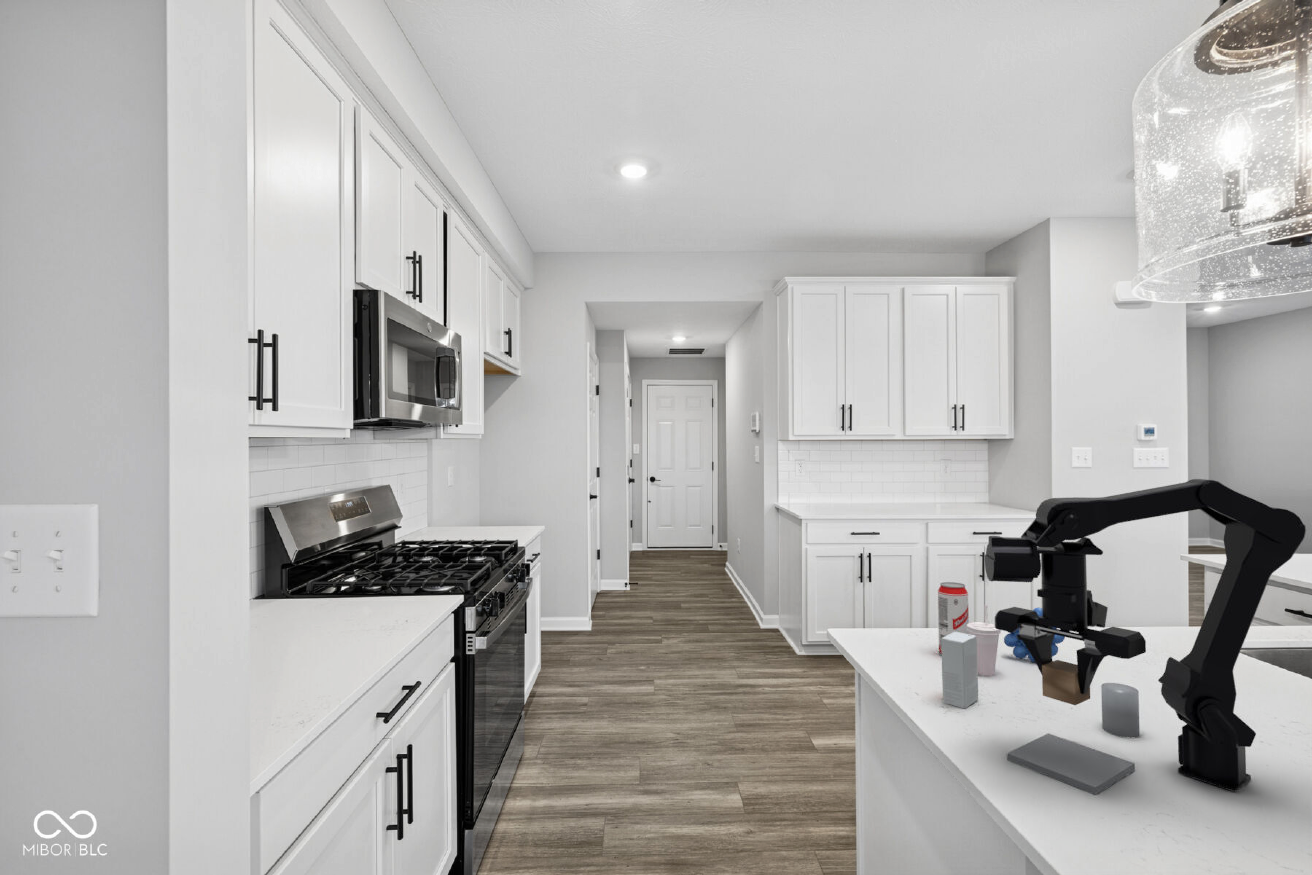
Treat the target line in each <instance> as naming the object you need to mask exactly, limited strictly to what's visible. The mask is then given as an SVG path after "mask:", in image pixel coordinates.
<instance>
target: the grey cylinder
mask: <svg viewBox="0 0 1312 875" xmlns="http://www.w3.org/2000/svg"><path fill="white" fill-rule="evenodd" d="M1100 690H1101V692H1100V693H1101V723H1102V727H1101V728H1102V729H1104V730H1103V731H1104V732H1106V733H1108V734H1110V735H1113V736H1118V737H1120V738H1126V737H1130V738H1129V739H1132V738H1131V737H1135V738H1138V737H1140V734H1141V733H1140V704H1139V703H1140V702H1139V701H1140V700H1139V699H1140V693H1139V690H1138V689H1137V688H1135V687H1133V686H1130V685H1128V684H1124V683H1123V684H1122V683H1116V682H1105V683H1101V689H1100Z"/></svg>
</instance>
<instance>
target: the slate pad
mask: <svg viewBox="0 0 1312 875" xmlns="http://www.w3.org/2000/svg"><path fill="white" fill-rule="evenodd" d="M1006 759H1007V761H1009V762H1012V763H1015V764H1017V765H1019V766H1022V767H1024V768H1027V769H1029V770H1031V771H1034V772H1037V773H1039V774H1043V775H1045V776H1047V777H1048V778H1049V777H1050V778H1052V779H1055V780H1057V781H1059V782H1063V783H1065V784H1067V785H1069V786H1072V787H1074V788H1076V789H1080V790H1082V791H1084V792H1087V793H1090V794H1092V795H1095V796H1096V795H1098V794H1099V793H1101V792H1103V791H1104V790H1106V789H1107V788H1109V787H1111V786H1112V785H1113V784H1116V783H1117V782H1119V781H1120V780H1122V779H1124V778H1125V777H1127V776H1128V775H1129V773H1130V774H1131V773H1132V772H1135V771H1136V763H1135V762H1132V761H1129V760H1126V759H1124V758H1122V757H1117V756H1115V755H1112V754H1109V753H1106V752H1103V751H1100V750H1098V749H1095V748H1092V747H1089V746H1086V745H1083V744H1080V743H1077V742H1074V741H1072V740H1069V739H1066V738H1063V737H1060V736H1057V735H1054V734H1051V733H1049V732H1048V733H1046V734H1044V735H1041V736H1039V737H1037V738H1035V739H1033V740H1031V741H1029V742H1027V743H1025V744H1023V745H1021V746H1019V747H1017V748H1014V749H1011V751H1009V752H1006Z"/></svg>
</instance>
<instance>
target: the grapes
mask: <svg viewBox="0 0 1312 875" xmlns="http://www.w3.org/2000/svg"><path fill="white" fill-rule="evenodd" d="M1032 610H1033V611H1036V613H1037V614H1038V616H1039V617H1040V616H1042V607H1035V608H1033V609H1032ZM1052 628H1054V627H1052ZM1055 629H1058V628H1055ZM1006 632H1007V634H1006V635H1005V636H1004V637H1003V643H1004V644H1005V645H1006V646H1007V647H1009V648H1012V649H1013V650H1012V654H1013V656H1014V658H1016V659H1020V660H1022V659H1024V658H1028V660H1029V661H1030V662H1033V663H1035V661H1034V659H1033V657H1032V655H1031V654H1030V652H1029V651H1028V649H1027V648H1026V646H1025V644H1024V643H1023V641H1022V640H1019V639H1017V635H1019V629H1017V630H1016V631H1015V632H1008V631H1006ZM1065 638H1066V637H1064V636H1059V635H1055V636H1054V639H1053V642H1052V657H1054V656H1056V655H1057V654H1058V653H1059V646H1058V644H1061V643H1063V642H1064V641H1065Z"/></svg>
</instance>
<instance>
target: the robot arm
mask: <svg viewBox="0 0 1312 875" xmlns="http://www.w3.org/2000/svg"><path fill="white" fill-rule="evenodd" d="M1195 510H1200V511H1201V512H1202V513H1204V514H1206V515H1207V516H1208V517H1209V518H1211V519H1212V520H1214V521H1216V522H1217V523H1219V524H1221V525H1223V526H1224V527H1225V529H1224V535H1223V544H1224V551H1225V556H1226V561H1225V565H1224V568H1223V570H1222V572H1221V575H1220V577H1219V580H1218V582H1217V585H1216V588H1215V590H1214V593H1213V595H1212V598H1211V601H1210V604H1209V605H1208V608H1207V611H1206V614H1205V616H1204V618H1203V621H1202V622H1201V626H1200V628H1199V631H1198V632H1197V636H1196V637H1195V638H1196V639H1195V641H1194V643H1193V646H1192V648H1191V650H1190V652H1189V653H1188V654H1187V655H1186V656H1184V657H1183V658H1182V659H1180V660H1177V659H1176V658H1174V657H1172V656H1169V657H1168V659H1167V661H1166V665H1165V670H1164V672H1163V673H1162V675H1161V676H1160V678H1158V680H1157V681H1158V682H1159V683H1161V688H1160V692H1161V696H1162V698H1163V700H1164V701H1165V703H1166V704H1167V705H1168V706H1169V707H1170V708H1172V709H1173V710H1174V711H1175V714H1176V716H1177V718H1178V719H1179V720H1180V721H1182V722H1184V723H1185V724H1184V725H1183V726H1182V727H1181V734H1179V735H1178V736H1177V746H1178V747H1177V748H1178V750H1177V753H1178V754H1177V755H1178V763H1179V765H1180V766H1179V767H1178V769H1177V773H1179V774H1181V775H1184V776H1187V777H1191V778H1192V779H1196V780H1199V781H1202V782H1205V783H1207V784H1211V785H1213V786H1217V787H1220V788H1222V789H1226V790H1229V791H1232V792H1237V791H1239V790H1240V789H1242V787H1243V786H1245V785H1246V784H1247V783H1248V782H1250V781H1251V780H1252V775H1250V774H1249V773H1247V760H1246V757H1247V754H1246V748H1248V747H1249V748H1251V747H1252V745H1253V742H1254V740H1255V738H1256V736H1257V735H1256V734H1257V733H1256V732H1255V731H1254V730H1253V729H1252V728H1251V727H1250V726H1249V725H1248V724H1247V723H1245V722H1244V721H1243V720H1242V719H1241V718H1240V717H1239V716H1238V715H1237V714H1235V713H1234V711H1235V706H1236V699H1237V689H1236V681H1235V677H1234V668H1235V666H1236V663H1237V660H1238V657H1239V655H1240V653H1241V650H1242V647H1243V646H1244V642H1245V640H1246V638H1247V636H1248V632H1249V630H1250V628H1251V625H1252V622H1253V620H1254V617H1255V616H1256V613H1257V611H1258V607H1259V606H1260V603H1261V600H1262V598H1263V595H1264V592H1265V590H1266V587H1267V585H1268V582H1269V580H1270V577H1271V576H1272V574H1274V573H1275V572H1276V571H1277V570H1279V568H1281V567H1282V566H1283V565H1285V564H1286V563H1287V562H1288V561H1290V560H1291V559H1292V558H1293V556H1294V554H1295V553H1296V552H1297V550H1298V549H1299V547H1300V545H1301V544H1302V543H1303V541H1304V539H1305V536H1306V532H1307V529H1306V528H1307V527H1306V524H1304V523H1303V521H1302V519H1301V517H1299V516H1298V515H1297V514H1296V513H1294V512H1293V511H1291V510H1289V509H1286V508H1285V509H1284V508H1279V507H1278V508H1277V507H1273V506H1270V505H1268V504H1265V503H1263V502H1261V501H1258V500H1256V499H1254V498H1252V497H1250V496H1247V495H1245V494H1242V493H1240V492H1239V491H1235V490H1234V489H1232V488H1229V487H1228V486H1226V485H1225V484H1223V483H1222V482H1220V481H1217V480H1214V479H1206V478H1205V479H1204V478H1203V479H1202V478H1193V479H1189V480H1187V481H1185V482H1180V483H1174V484H1169V485H1163V486H1156V487H1153V488H1147V489H1142V490H1136V491H1135V490H1134V491H1132V492H1125V493H1119V494H1114V495H1113V494H1112V495H1108V496H1102V497H1100V496H1099V497H1054V498H1053V497H1052V498H1047V499H1045V500H1044V501H1042V502H1040V505H1039V506H1038V507H1037V509H1036V512H1035V518H1034V520H1033V521H1032V522H1031V524H1030V525H1029V526H1028V527H1027V528H1026V529H1025V531H1024V532H1023V533H1022V535H1021V536H1020V537H1007V536H1005V537H1004V536H999V535H989V536H988V544H987V546H986V549H985V550H986V551H985V554H984V568H985V574H986V577H987V580H989V582H1007V583H1009V582H1011V583H1012V582H1013V583H1014V582H1015V583H1032V582H1033V580H1034V579H1038V577H1039V576H1040V575H1041V588H1039V589H1037V590H1036V592H1037V593H1036V594H1037V595H1036V596H1037V597H1039V598H1041V608H1042V616H1040V617H1039V616H1038V614H1037V613H1036V611H1033V609H1028V608H1023V607H1018V606H1013V607H1012V606H1011V607H1009V608H1004V609H1000V610H998V611H997V612H996V613H995V616H994V625H995V628H996V629H999V630H1001V631H1004V632H1007V631H1008V632H1007V633H1009V632H1015V631H1016V630H1017V629H1019V635H1017V639H1019V640H1022V641H1023V643H1024V644H1025V646H1026V648H1027V649H1028V651H1029V652H1030V654H1031V655H1032V657H1033V659H1034V661H1035V662H1034V663H1035V664H1036V666H1037V668H1038V670H1039V672H1040V674H1041V675H1042V665H1045V664H1047V663H1050V662H1053V656H1052V642H1053V639H1054V636H1055V635H1059V636H1064V637H1065V638H1069V639H1073V640H1078V641H1083V644H1084V647H1083V648H1080V649H1076V665H1078V680H1079V687H1080V692H1081V694H1086V693H1087V692H1088V690H1089V687H1090V688H1091V685H1092V682H1093V680H1094V677H1095V675H1096V672H1097V670H1098V667H1099V666H1100V664H1101V663H1102V662H1103V659H1104V658H1106V657H1108V656H1110V657H1114V658H1119V659H1123V660H1125V659H1126V660H1128V659H1129V660H1130V659H1132V658H1135V657H1137V656H1140V655H1143V654H1145V653H1147V650H1146V648H1147V647H1146V644H1147V642H1146V639H1145V637H1144V636H1143V634H1142V633H1141V632H1140V631H1138V630H1137V631H1136V630H1132V629H1126V628H1122V627H1118V626H1117V627H1116V626H1111V627H1108V628H1106V623H1107V615H1108V608H1109V607H1108V606H1106V605H1104V604H1101V603H1099V602H1097V601H1094V600H1093V593H1092V590H1090V589H1087V588H1088V582H1087V579H1088V578H1087V556H1102V555H1103V554H1104V551H1103V550H1102V549H1101V548H1099V547H1098V546H1097V545H1095V544H1094V542H1093V541H1092V540H1091V538H1089V536H1091V535H1095V534H1097V533H1100V532H1102V531H1103V530H1106V529H1107V528H1109V527H1111V526H1114V525H1117V524H1121V523H1122V524H1123V523H1127V522H1133V521H1134V522H1135V521H1138V520H1144V519H1150V518H1157V517H1163V516H1167V515H1173V514H1179V513H1184V512H1190V511H1195ZM1076 540H1077V541H1076ZM1052 627H1054V628H1052ZM1089 627H1093V628H1094V627H1099V628H1103V629H1101V630H1097V629H1093V628H1089ZM1055 628H1057V629H1055Z"/></svg>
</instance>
